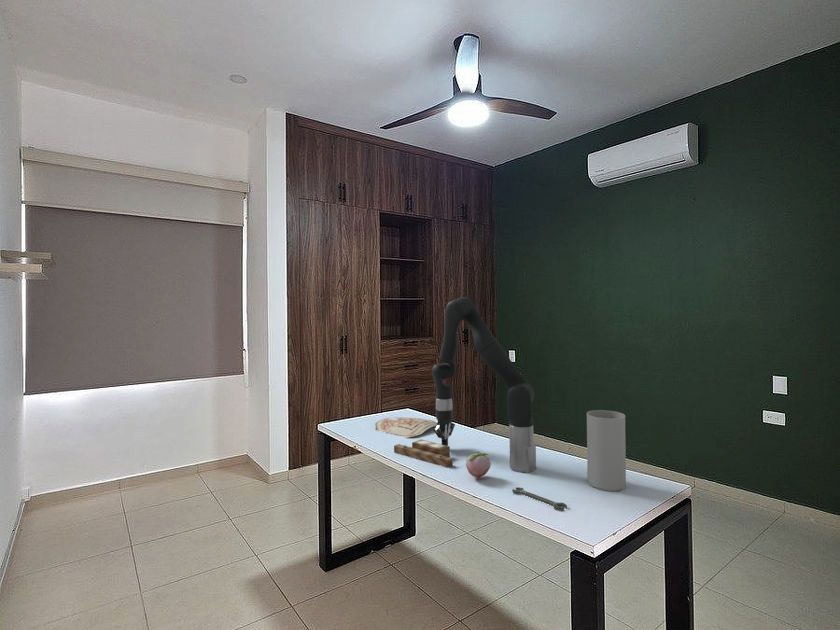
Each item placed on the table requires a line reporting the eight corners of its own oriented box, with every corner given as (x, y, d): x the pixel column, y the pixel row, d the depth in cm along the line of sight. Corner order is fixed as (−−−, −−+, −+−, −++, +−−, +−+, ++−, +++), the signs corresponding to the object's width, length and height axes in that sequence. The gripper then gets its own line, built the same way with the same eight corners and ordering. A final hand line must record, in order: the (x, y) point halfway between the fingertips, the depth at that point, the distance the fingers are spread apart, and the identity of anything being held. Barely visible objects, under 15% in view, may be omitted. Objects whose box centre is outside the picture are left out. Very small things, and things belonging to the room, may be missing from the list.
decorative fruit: (477, 471, 173) (476, 446, 173) (494, 477, 167) (493, 450, 167) (460, 478, 167) (460, 451, 167) (477, 484, 161) (477, 456, 161)
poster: (369, 436, 235) (414, 444, 217) (367, 424, 234) (413, 431, 216) (402, 420, 257) (446, 426, 239) (401, 410, 257) (445, 415, 238)
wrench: (518, 489, 157) (518, 486, 157) (569, 508, 141) (569, 505, 141) (509, 493, 154) (509, 490, 154) (561, 513, 138) (561, 509, 138)
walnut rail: (452, 465, 180) (452, 456, 180) (448, 467, 178) (447, 458, 178) (398, 450, 200) (398, 442, 200) (394, 452, 198) (394, 444, 198)
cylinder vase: (582, 477, 165) (581, 410, 164) (617, 477, 165) (616, 410, 164) (594, 492, 152) (594, 419, 152) (632, 491, 152) (631, 418, 152)
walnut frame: (449, 458, 190) (449, 445, 190) (440, 461, 186) (440, 449, 186) (421, 450, 201) (421, 438, 201) (412, 454, 196) (412, 442, 196)
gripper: (446, 404, 208) (447, 441, 208) (428, 409, 198) (428, 448, 198) (459, 406, 203) (460, 444, 203) (441, 412, 193) (442, 452, 193)
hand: (444, 446), depth 201 cm, fingers closed
